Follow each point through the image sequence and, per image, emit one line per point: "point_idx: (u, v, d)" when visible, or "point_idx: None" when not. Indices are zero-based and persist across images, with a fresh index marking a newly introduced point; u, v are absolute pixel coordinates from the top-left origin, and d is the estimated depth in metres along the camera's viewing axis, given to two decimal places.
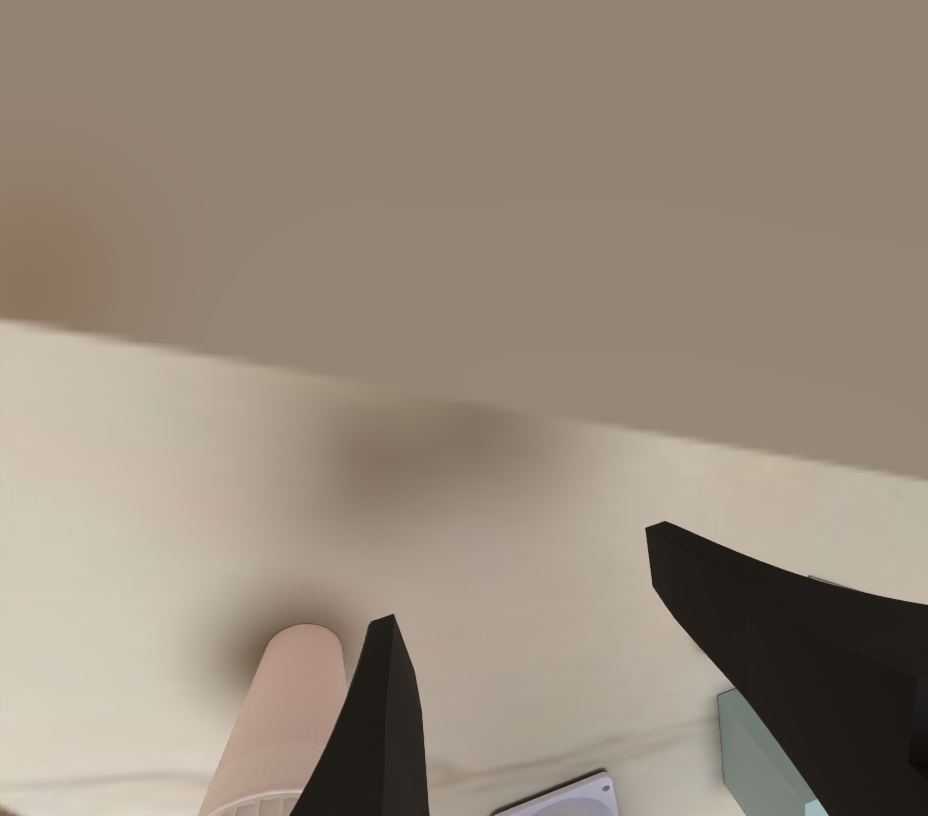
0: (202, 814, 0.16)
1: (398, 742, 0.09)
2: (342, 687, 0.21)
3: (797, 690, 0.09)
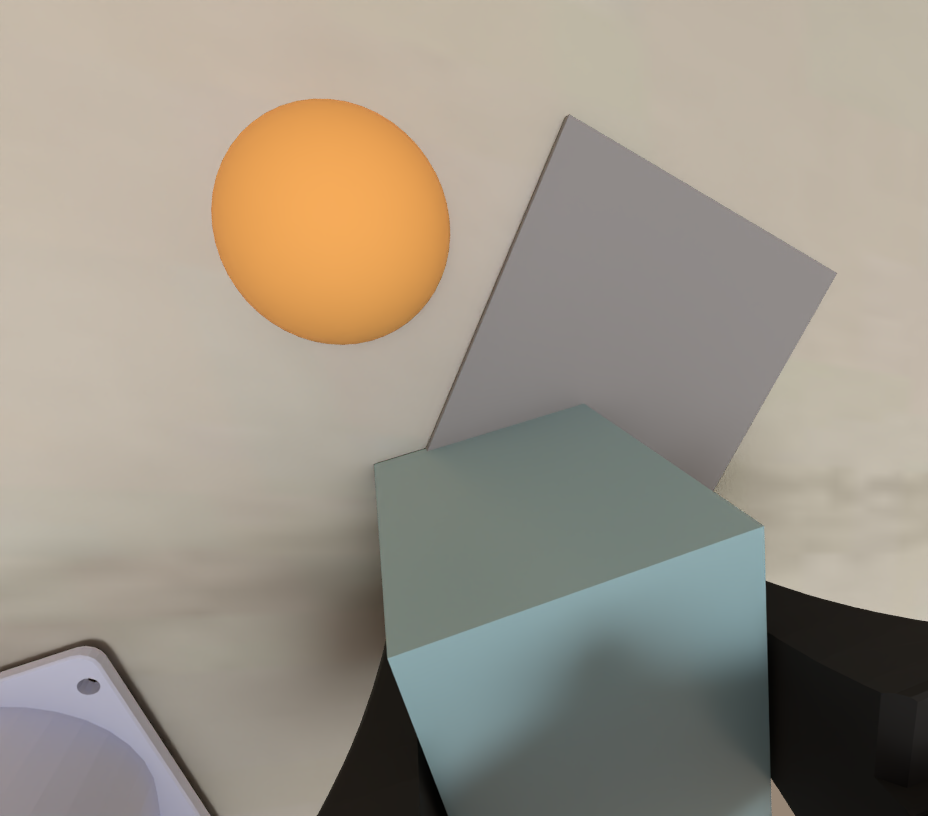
0: None
1: None
2: None
3: (770, 701, 0.09)
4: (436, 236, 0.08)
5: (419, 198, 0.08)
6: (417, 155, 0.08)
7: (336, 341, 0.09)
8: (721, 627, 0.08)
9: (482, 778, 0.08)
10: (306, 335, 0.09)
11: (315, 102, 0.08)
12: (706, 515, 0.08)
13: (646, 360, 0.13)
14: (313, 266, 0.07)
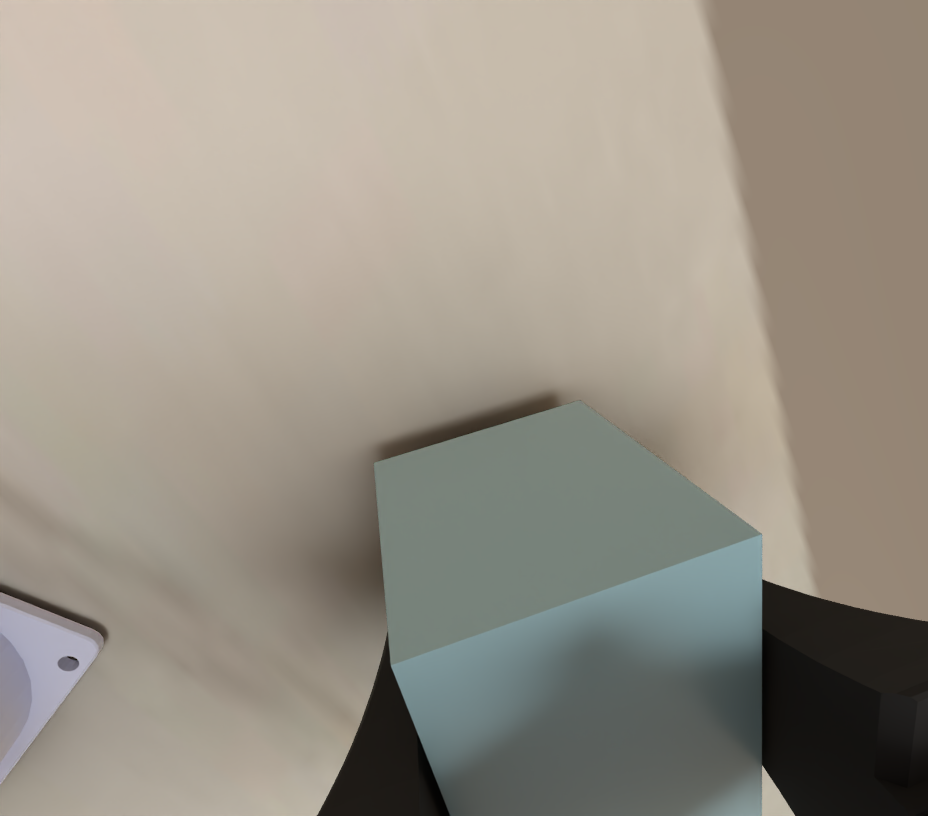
0: None
1: None
2: None
3: (770, 701, 0.09)
4: None
5: None
6: None
7: None
8: (717, 631, 0.08)
9: (482, 777, 0.08)
10: None
11: None
12: (705, 522, 0.08)
13: None
14: None
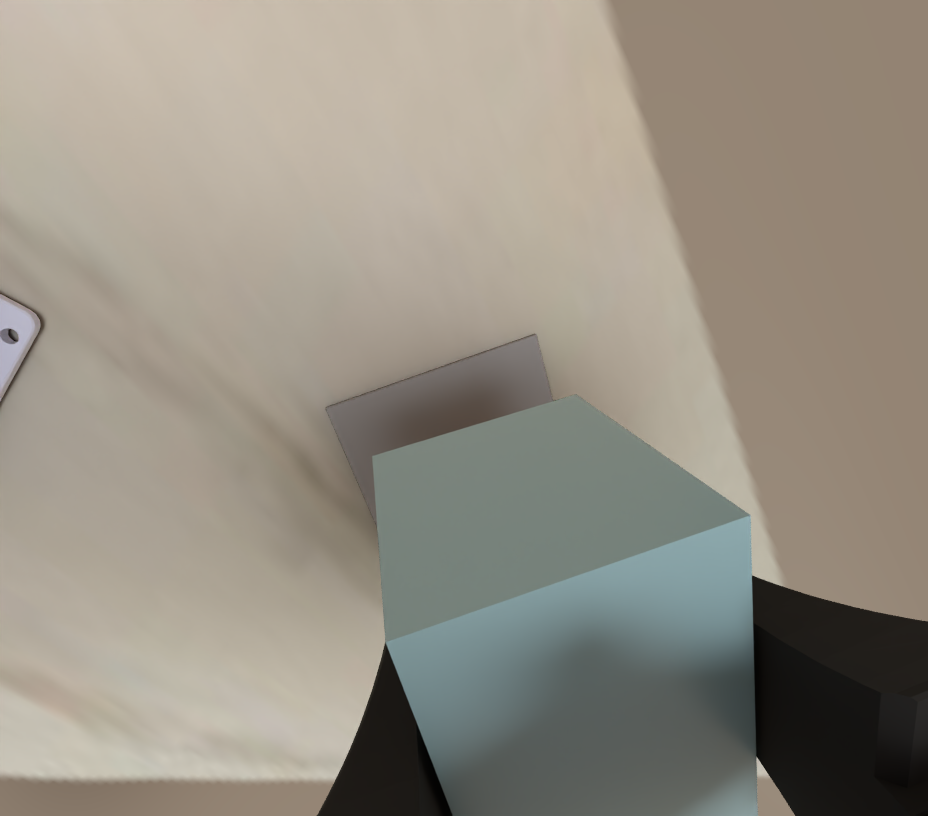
0: None
1: None
2: None
3: (770, 701, 0.09)
4: None
5: None
6: None
7: None
8: (708, 613, 0.08)
9: (477, 758, 0.08)
10: None
11: None
12: (695, 505, 0.08)
13: None
14: None
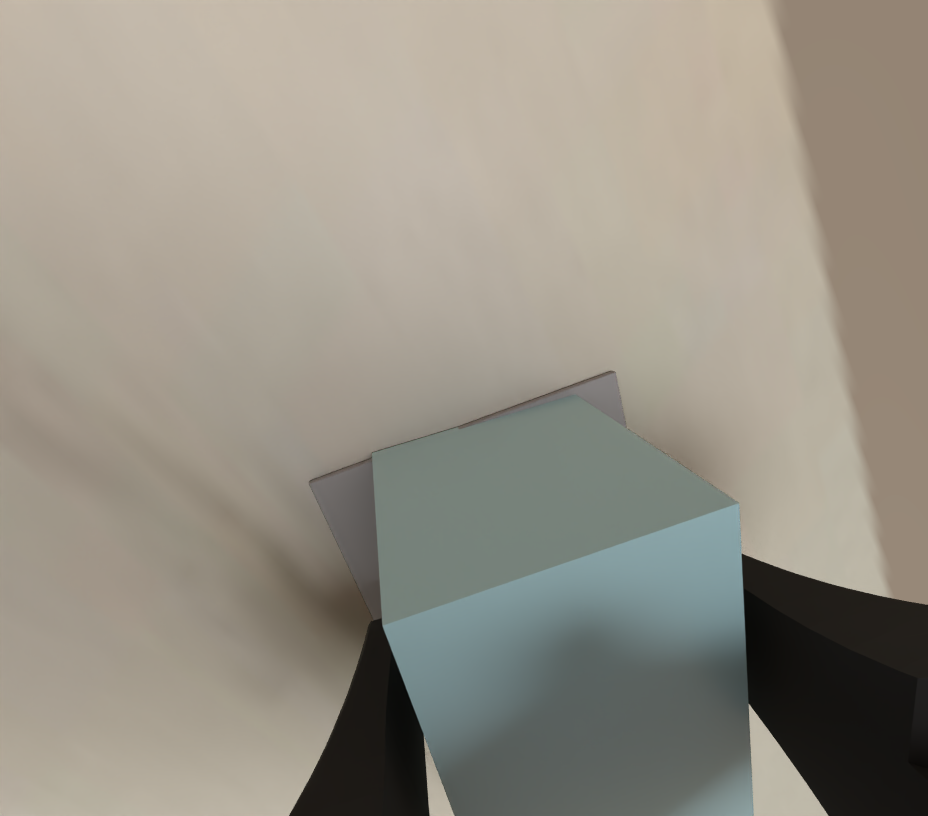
0: None
1: (398, 742, 0.09)
2: None
3: (797, 690, 0.09)
4: None
5: None
6: None
7: None
8: (700, 600, 0.08)
9: (473, 743, 0.08)
10: None
11: None
12: (685, 494, 0.08)
13: None
14: None
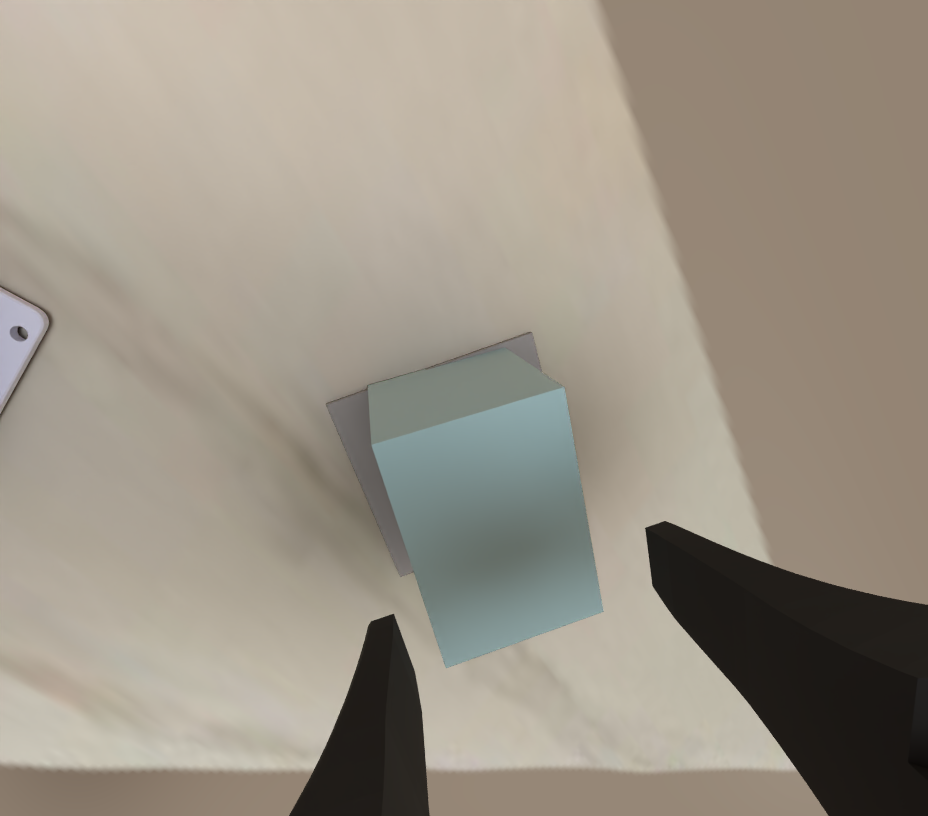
0: None
1: (398, 742, 0.09)
2: None
3: (797, 690, 0.09)
4: None
5: None
6: None
7: None
8: (548, 444, 0.15)
9: (422, 523, 0.15)
10: None
11: None
12: (541, 386, 0.15)
13: None
14: None
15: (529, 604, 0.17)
